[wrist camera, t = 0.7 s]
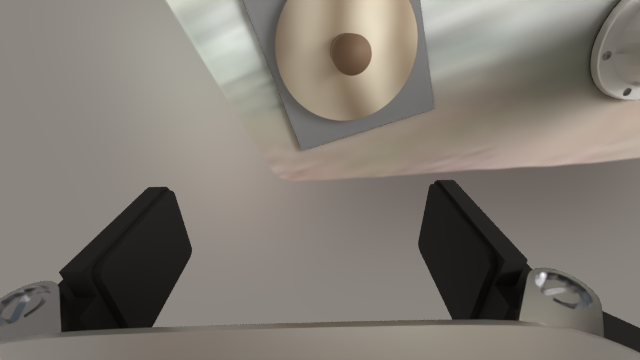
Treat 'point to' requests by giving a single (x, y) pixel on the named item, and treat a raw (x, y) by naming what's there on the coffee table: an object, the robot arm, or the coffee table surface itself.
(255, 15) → the mat
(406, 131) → the coffee table surface
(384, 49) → the lid
